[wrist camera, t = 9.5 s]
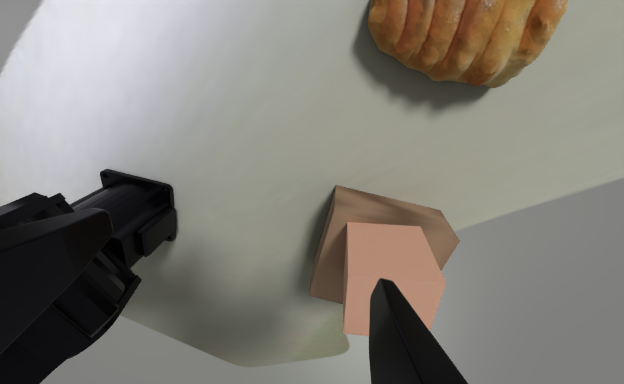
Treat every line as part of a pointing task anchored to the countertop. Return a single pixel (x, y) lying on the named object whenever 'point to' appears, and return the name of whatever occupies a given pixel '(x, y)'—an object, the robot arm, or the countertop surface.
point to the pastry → (465, 36)
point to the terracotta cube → (388, 271)
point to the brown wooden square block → (376, 211)
